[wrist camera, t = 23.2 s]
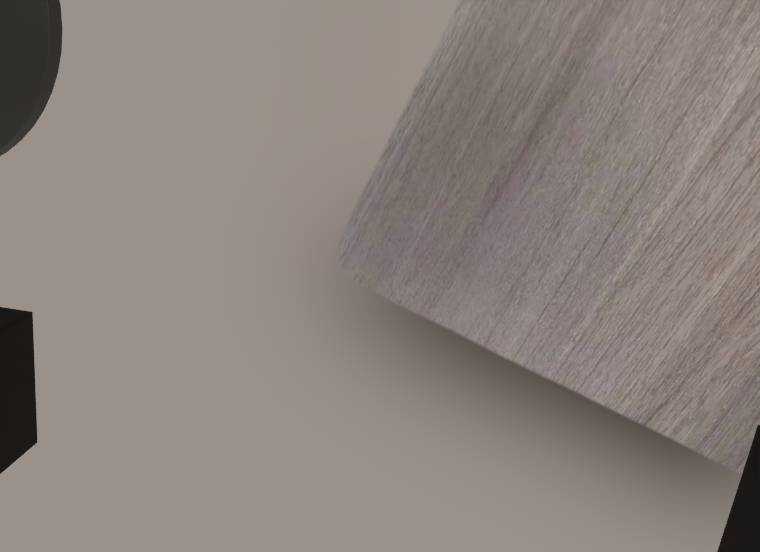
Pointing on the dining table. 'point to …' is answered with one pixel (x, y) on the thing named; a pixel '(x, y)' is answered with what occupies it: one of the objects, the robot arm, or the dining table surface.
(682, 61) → the dining table surface
